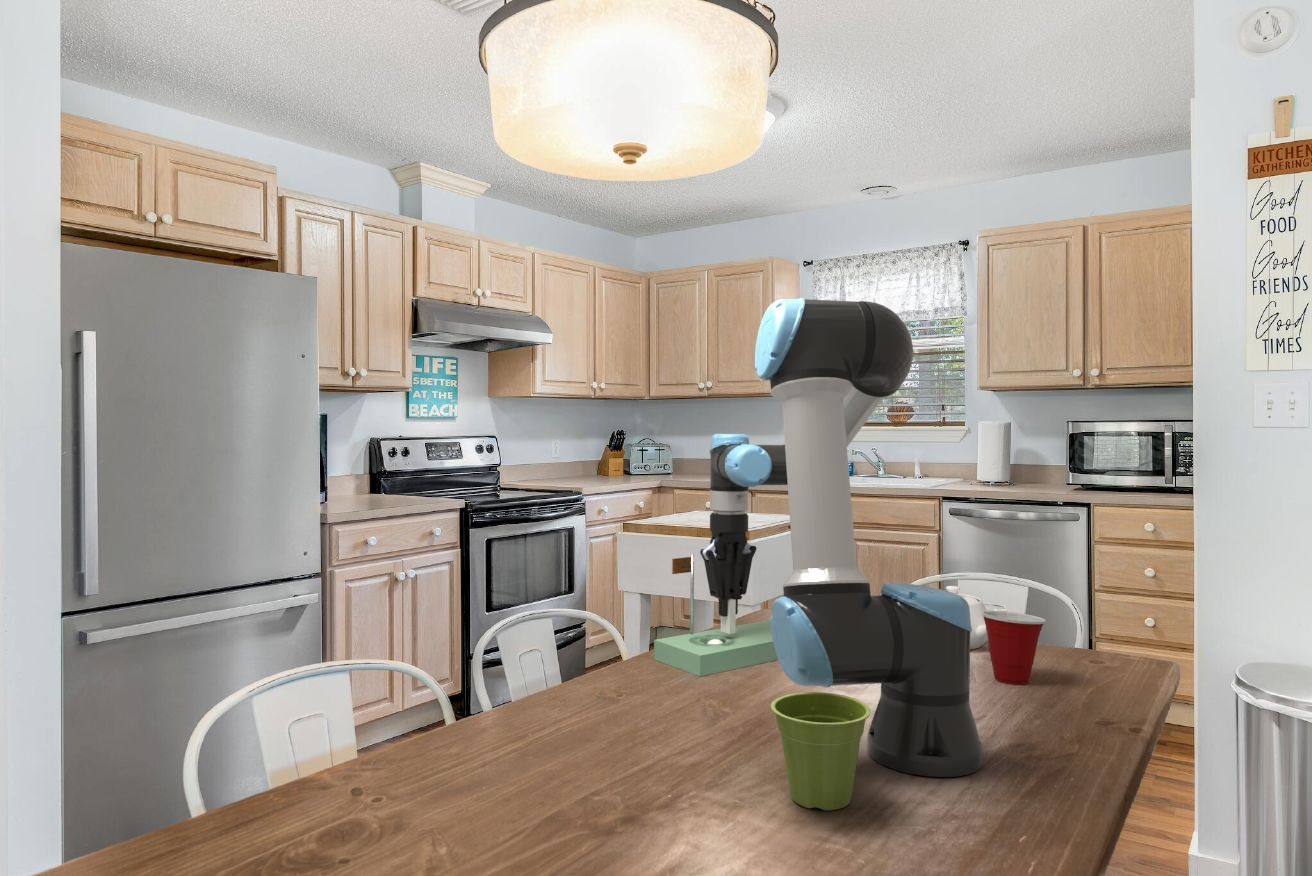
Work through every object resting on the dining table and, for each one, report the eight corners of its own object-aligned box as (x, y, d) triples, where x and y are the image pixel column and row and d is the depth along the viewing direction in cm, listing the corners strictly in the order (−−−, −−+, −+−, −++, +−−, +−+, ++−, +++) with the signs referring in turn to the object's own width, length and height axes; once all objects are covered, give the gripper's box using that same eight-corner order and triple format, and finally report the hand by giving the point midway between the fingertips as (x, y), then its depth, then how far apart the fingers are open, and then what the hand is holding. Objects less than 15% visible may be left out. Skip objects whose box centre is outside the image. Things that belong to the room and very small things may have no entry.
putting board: (699, 676, 154) (700, 655, 154) (653, 659, 166) (654, 639, 166) (821, 650, 173) (821, 631, 173) (772, 636, 185) (772, 619, 185)
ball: (717, 666, 163) (711, 648, 162) (704, 661, 167) (698, 644, 166) (732, 655, 166) (726, 637, 165) (718, 651, 169) (712, 633, 168)
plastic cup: (1057, 682, 153) (1058, 615, 152) (1023, 692, 146) (1024, 623, 146) (1002, 668, 161) (1003, 605, 161) (967, 677, 155) (968, 611, 155)
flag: (673, 637, 167) (673, 556, 167) (670, 637, 168) (671, 556, 168) (694, 634, 170) (694, 554, 170) (691, 633, 171) (692, 553, 171)
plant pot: (800, 771, 112) (801, 685, 112) (886, 796, 104) (887, 704, 104) (751, 801, 102) (752, 708, 102) (841, 831, 95) (842, 730, 95)
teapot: (885, 637, 186) (885, 581, 186) (934, 628, 194) (934, 574, 194) (980, 665, 164) (981, 601, 164) (1032, 653, 172) (1032, 593, 172)
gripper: (716, 515, 160) (715, 640, 161) (766, 512, 168) (765, 631, 168) (691, 512, 167) (690, 632, 167) (740, 509, 174) (739, 624, 174)
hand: (728, 632), depth 168 cm, fingers closed
